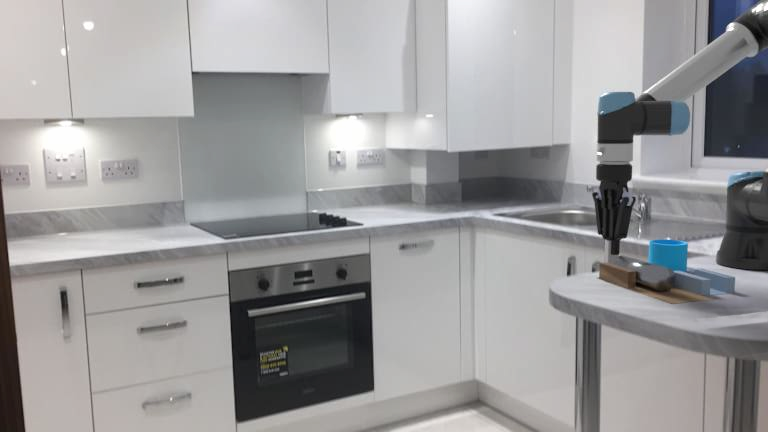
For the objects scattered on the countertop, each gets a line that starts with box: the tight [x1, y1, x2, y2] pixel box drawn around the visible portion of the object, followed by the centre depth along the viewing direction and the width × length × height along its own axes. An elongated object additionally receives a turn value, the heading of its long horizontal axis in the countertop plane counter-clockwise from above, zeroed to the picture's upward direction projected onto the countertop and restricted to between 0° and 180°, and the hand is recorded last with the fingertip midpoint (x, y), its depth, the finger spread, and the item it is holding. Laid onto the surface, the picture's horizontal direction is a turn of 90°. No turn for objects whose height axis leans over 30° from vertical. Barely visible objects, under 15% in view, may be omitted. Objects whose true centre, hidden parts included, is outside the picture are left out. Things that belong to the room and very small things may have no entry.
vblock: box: [674, 268, 736, 297], centre depth 143 cm, size 8×10×4 cm
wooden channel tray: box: [597, 262, 716, 305], centre depth 144 cm, size 10×24×5 cm, turn 17°
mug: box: [648, 238, 689, 273], centre depth 162 cm, size 12×8×8 cm
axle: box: [613, 255, 676, 292], centre depth 147 cm, size 14×5×5 cm, turn 17°
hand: (610, 268), depth 157 cm, fingers closed
